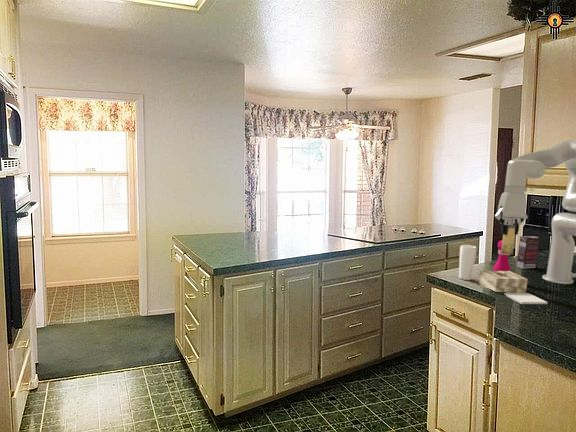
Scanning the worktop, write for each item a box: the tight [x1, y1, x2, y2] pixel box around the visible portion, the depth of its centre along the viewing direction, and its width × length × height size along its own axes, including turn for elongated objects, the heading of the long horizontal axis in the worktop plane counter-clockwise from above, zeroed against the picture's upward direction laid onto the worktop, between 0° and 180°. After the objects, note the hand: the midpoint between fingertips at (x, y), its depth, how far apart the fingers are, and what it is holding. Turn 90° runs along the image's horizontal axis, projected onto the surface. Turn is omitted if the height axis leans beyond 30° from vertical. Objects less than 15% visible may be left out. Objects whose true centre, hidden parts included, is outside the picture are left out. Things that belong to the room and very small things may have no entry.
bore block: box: [478, 270, 529, 293], centre depth 200 cm, size 14×12×6 cm
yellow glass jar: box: [501, 223, 516, 255], centre depth 197 cm, size 4×4×12 cm
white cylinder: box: [458, 244, 477, 281], centre depth 211 cm, size 7×7×15 cm
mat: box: [503, 292, 549, 305], centre depth 187 cm, size 11×11×1 cm
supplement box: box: [516, 235, 540, 269], centre depth 241 cm, size 9×5×16 cm, turn 111°
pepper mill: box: [492, 239, 512, 272], centre depth 213 cm, size 7×7×20 cm
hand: (509, 233), depth 197 cm, fingers closed on yellow glass jar, 4 cm apart
